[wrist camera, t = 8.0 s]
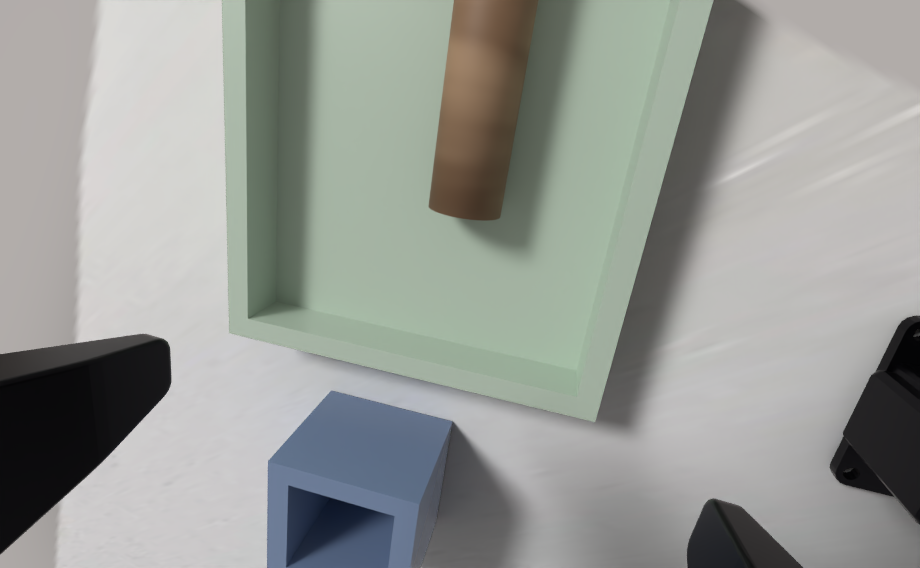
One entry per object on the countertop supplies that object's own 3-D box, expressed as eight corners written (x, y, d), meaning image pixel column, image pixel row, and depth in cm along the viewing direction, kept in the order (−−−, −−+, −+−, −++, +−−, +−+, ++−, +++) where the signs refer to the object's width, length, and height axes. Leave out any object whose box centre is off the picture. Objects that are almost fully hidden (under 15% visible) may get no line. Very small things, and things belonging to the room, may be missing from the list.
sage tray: (807, -413, 12) (865, -545, 9) (592, 385, 19) (595, 422, 17) (271, -404, 14) (210, -511, 11) (266, 310, 21) (229, 333, 19)
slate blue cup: (452, 421, 21) (419, 504, 16) (436, 521, 23) (402, 620, 18) (331, 390, 22) (267, 461, 17) (325, 489, 24) (266, 576, 19)
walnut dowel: (403, 152, 19) (522, -170, 14) (503, 237, 17) (693, -115, 12) (354, 151, 18) (469, -220, 12) (458, 245, 15) (657, -166, 10)
